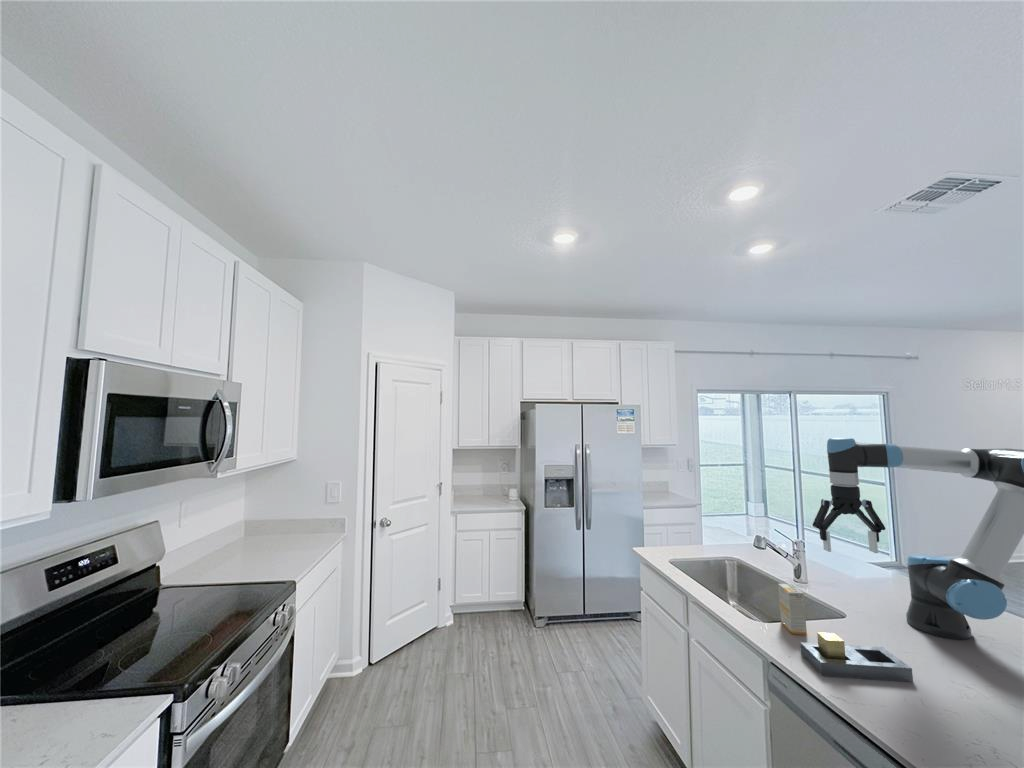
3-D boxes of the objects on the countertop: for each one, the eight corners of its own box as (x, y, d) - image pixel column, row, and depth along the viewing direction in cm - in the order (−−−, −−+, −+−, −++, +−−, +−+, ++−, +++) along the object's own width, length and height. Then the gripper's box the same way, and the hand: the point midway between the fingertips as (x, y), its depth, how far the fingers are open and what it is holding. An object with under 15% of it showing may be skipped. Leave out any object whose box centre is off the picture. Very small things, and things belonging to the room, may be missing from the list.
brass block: (836, 662, 119) (834, 633, 120) (846, 671, 115) (844, 641, 115) (819, 661, 120) (817, 632, 121) (828, 670, 115) (826, 640, 116)
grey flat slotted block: (884, 660, 120) (882, 647, 120) (913, 682, 110) (911, 668, 110) (801, 654, 123) (800, 642, 124) (822, 675, 113) (820, 662, 113)
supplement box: (807, 635, 134) (804, 593, 136) (791, 634, 135) (788, 592, 137) (796, 623, 142) (792, 583, 144) (780, 622, 143) (777, 582, 145)
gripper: (878, 483, 139) (884, 549, 137) (797, 483, 143) (802, 546, 140) (895, 487, 132) (902, 556, 129) (809, 486, 135) (815, 553, 133)
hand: (850, 551), depth 135 cm, fingers open, 13 cm apart
